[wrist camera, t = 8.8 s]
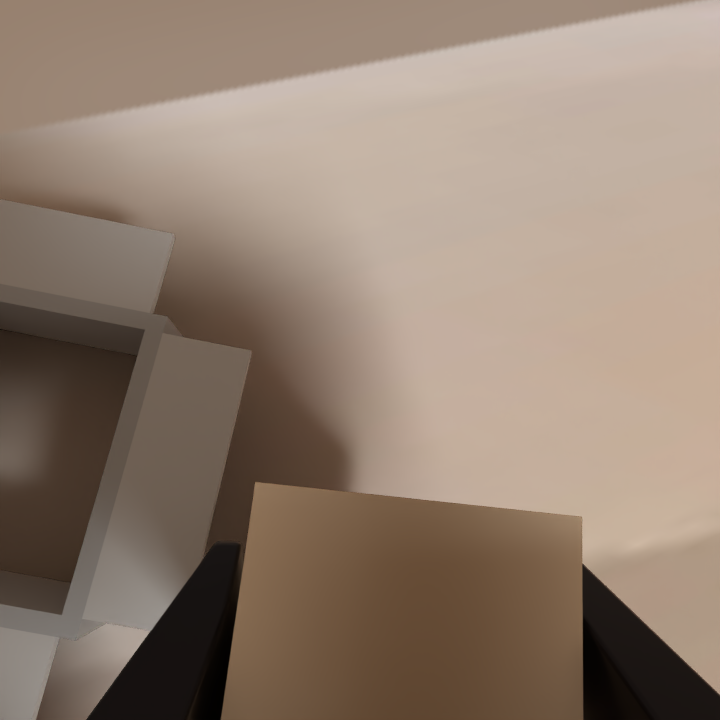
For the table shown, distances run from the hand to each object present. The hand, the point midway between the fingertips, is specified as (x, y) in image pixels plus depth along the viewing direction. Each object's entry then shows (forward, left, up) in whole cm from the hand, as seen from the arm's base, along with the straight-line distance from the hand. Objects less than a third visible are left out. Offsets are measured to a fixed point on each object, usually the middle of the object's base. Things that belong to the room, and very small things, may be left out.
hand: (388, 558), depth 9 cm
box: (0, +1, -7) cm, 7 cm away
